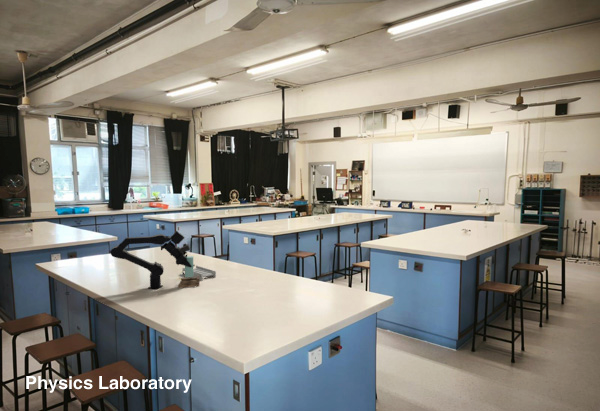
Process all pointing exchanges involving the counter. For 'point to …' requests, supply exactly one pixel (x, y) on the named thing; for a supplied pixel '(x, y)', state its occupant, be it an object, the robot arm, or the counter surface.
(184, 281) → the track board
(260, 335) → the counter surface
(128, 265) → the counter surface
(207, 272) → the test tube rack
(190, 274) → the mint green tall box
